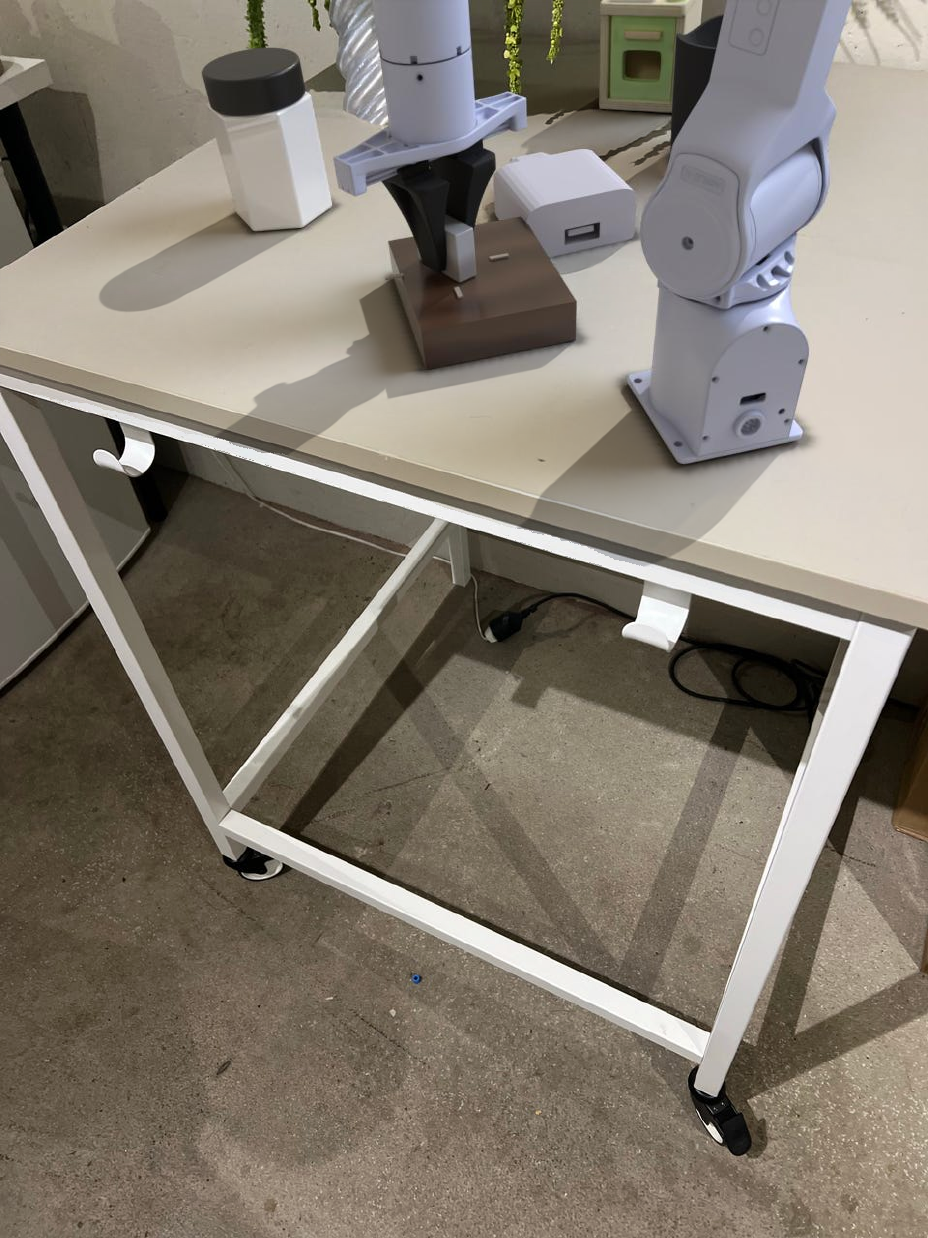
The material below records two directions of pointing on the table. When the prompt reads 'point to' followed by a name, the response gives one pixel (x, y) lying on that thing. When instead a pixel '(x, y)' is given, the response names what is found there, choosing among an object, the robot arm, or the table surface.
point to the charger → (566, 200)
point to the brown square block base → (485, 298)
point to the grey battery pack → (458, 250)
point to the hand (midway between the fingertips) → (446, 261)
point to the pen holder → (692, 70)
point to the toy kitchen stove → (641, 51)
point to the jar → (267, 137)
